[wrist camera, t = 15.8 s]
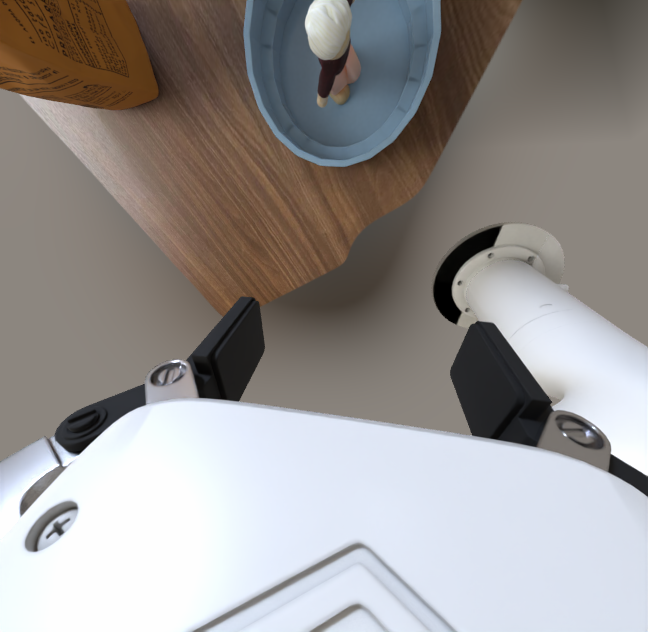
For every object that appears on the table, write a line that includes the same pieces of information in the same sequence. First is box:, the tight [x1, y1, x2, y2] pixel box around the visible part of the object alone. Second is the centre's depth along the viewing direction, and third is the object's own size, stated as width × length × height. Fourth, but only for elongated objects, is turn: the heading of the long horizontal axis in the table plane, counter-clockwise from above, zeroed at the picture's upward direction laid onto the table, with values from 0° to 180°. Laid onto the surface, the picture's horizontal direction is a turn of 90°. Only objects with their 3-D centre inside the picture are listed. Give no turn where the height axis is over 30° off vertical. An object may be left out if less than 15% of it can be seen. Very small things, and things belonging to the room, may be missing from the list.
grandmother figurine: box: [305, 0, 361, 108], centre depth 21 cm, size 8×4×13 cm, turn 172°
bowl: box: [244, 0, 441, 167], centre depth 25 cm, size 17×17×6 cm
